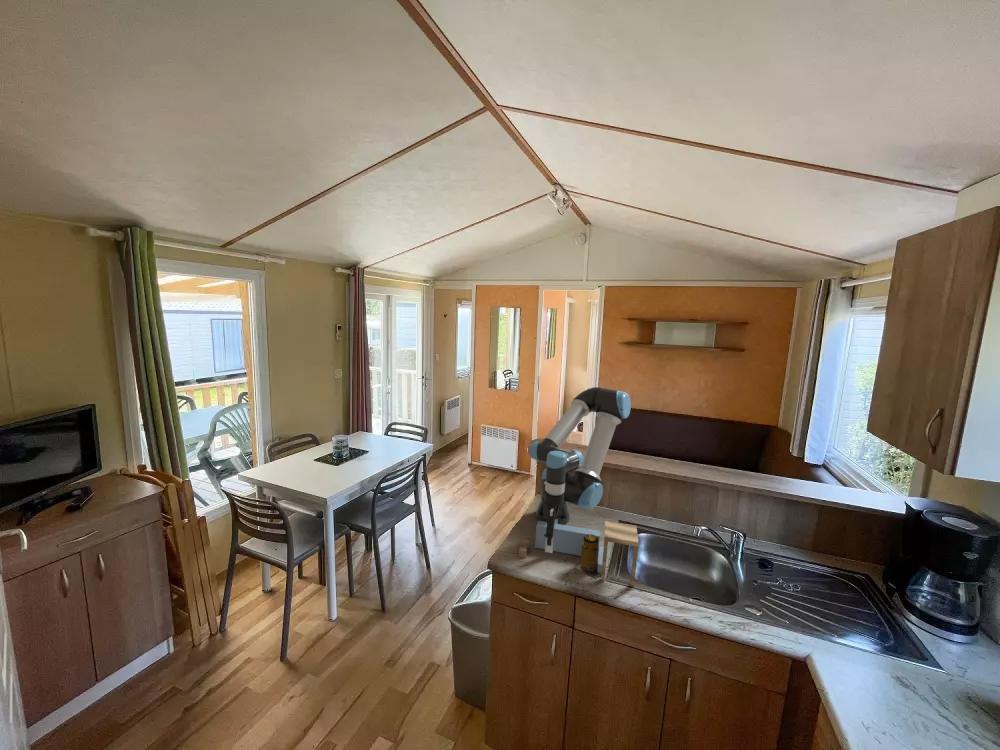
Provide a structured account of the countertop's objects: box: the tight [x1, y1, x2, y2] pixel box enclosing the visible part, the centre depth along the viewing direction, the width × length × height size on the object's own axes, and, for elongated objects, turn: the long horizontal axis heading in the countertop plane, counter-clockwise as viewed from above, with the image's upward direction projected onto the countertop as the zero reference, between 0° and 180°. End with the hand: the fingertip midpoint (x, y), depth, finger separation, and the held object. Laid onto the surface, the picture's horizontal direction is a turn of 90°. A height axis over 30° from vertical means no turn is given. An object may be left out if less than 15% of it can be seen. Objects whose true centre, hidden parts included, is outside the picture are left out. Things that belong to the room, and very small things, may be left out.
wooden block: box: [518, 539, 530, 559], centre depth 159 cm, size 8×2×3 cm, turn 166°
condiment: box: [575, 534, 601, 579], centre depth 149 cm, size 7×8×12 cm
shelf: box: [600, 520, 639, 588], centre depth 146 cm, size 12×11×17 cm
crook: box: [534, 520, 604, 573], centre depth 156 cm, size 14×26×9 cm, turn 76°
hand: (551, 542), depth 162 cm, fingers open, 13 cm apart
